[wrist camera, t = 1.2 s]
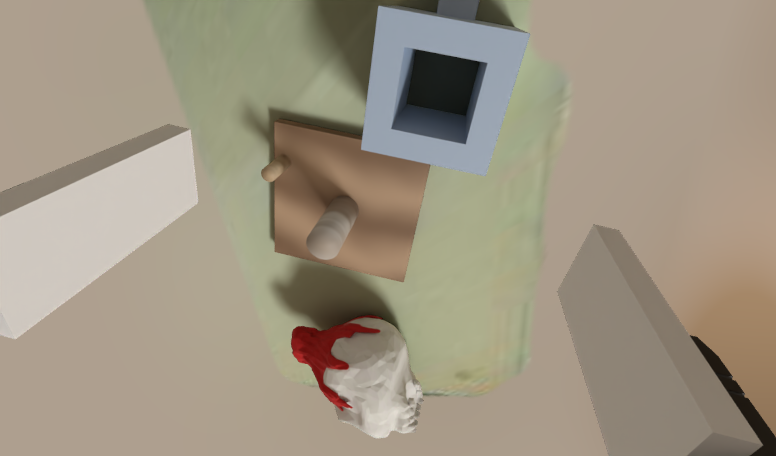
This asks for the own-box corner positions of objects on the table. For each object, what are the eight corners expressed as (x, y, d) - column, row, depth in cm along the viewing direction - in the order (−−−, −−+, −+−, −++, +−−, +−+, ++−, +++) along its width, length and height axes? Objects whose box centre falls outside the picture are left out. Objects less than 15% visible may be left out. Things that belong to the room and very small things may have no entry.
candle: (425, 389, 44) (309, 345, 47) (450, 322, 39) (315, 275, 41) (406, 466, 37) (269, 408, 40) (432, 397, 31) (269, 334, 34)
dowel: (277, 153, 32) (261, 166, 29) (290, 156, 32) (275, 169, 29) (277, 166, 33) (261, 180, 30) (290, 169, 33) (275, 183, 30)
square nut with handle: (481, 141, 30) (485, 176, 24) (381, 121, 30) (360, 149, 24) (533, -36, 24) (556, -50, 18) (407, -58, 24) (388, -78, 18)
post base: (279, 118, 32) (236, 144, 26) (433, 151, 31) (425, 185, 25) (279, 246, 38) (244, 290, 32) (404, 276, 37) (393, 327, 31)
